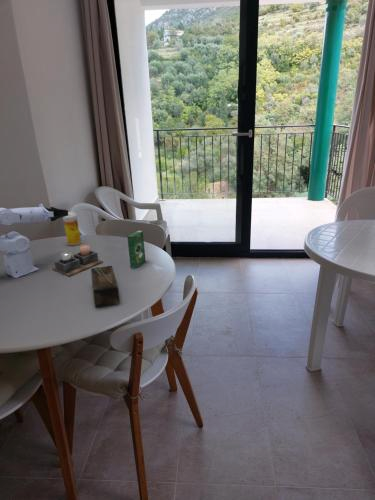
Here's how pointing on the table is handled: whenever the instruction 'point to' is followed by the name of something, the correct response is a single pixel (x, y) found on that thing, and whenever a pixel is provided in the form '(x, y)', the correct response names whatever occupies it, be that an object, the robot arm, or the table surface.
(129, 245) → the coffee box
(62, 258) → the aluminium plug
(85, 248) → the terracotta plug
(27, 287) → the table surface
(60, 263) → the socket board
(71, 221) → the beer can
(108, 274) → the beverage carton
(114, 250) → the table surface
